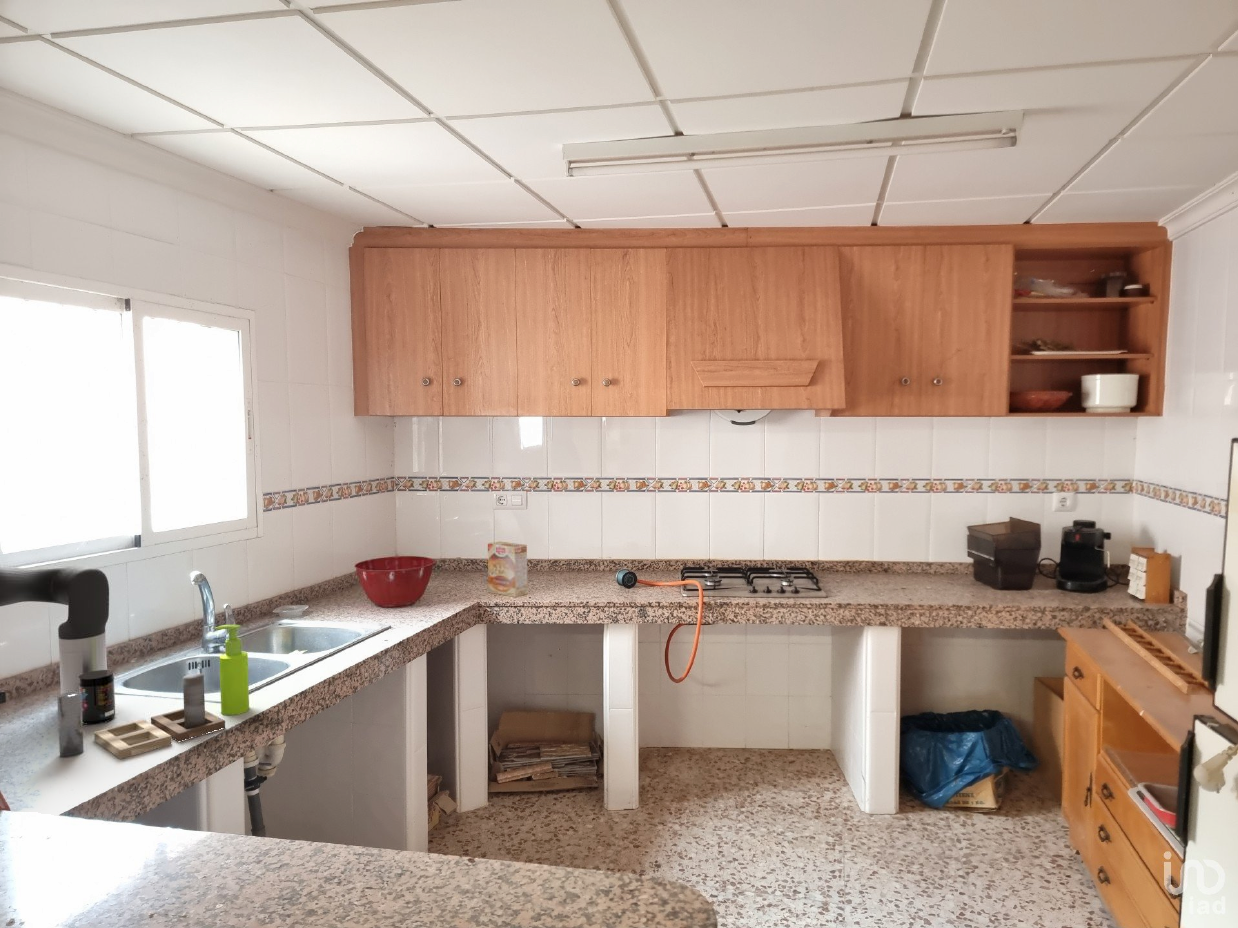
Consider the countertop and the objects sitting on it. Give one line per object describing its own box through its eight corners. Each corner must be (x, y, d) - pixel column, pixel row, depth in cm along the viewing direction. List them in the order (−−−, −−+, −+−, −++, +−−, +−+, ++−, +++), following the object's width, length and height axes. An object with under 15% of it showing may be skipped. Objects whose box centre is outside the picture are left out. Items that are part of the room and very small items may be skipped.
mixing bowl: (400, 615, 278) (399, 571, 278) (338, 608, 290) (337, 565, 290) (450, 599, 304) (450, 558, 303) (391, 593, 316) (390, 553, 315)
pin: (57, 753, 163) (54, 695, 163) (79, 747, 166) (77, 690, 166) (63, 758, 161) (60, 699, 160) (86, 752, 164) (84, 694, 163)
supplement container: (95, 713, 186) (93, 669, 185) (122, 714, 185) (121, 669, 185) (72, 724, 179) (70, 678, 178) (101, 725, 178) (99, 679, 178)
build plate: (94, 740, 170) (94, 731, 170) (143, 727, 177) (143, 718, 177) (120, 758, 160) (120, 750, 160) (171, 744, 168) (171, 735, 168)
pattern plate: (151, 725, 178) (149, 671, 178) (195, 713, 186) (194, 661, 185) (179, 741, 169) (177, 685, 168) (225, 728, 176) (223, 674, 176)
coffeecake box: (487, 592, 316) (486, 543, 315) (500, 589, 321) (500, 540, 320) (515, 597, 307) (514, 546, 306) (528, 594, 312) (527, 544, 311)
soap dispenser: (225, 705, 190) (222, 622, 189) (253, 706, 190) (251, 622, 189) (211, 714, 185) (208, 628, 183) (241, 715, 184) (238, 628, 183)
